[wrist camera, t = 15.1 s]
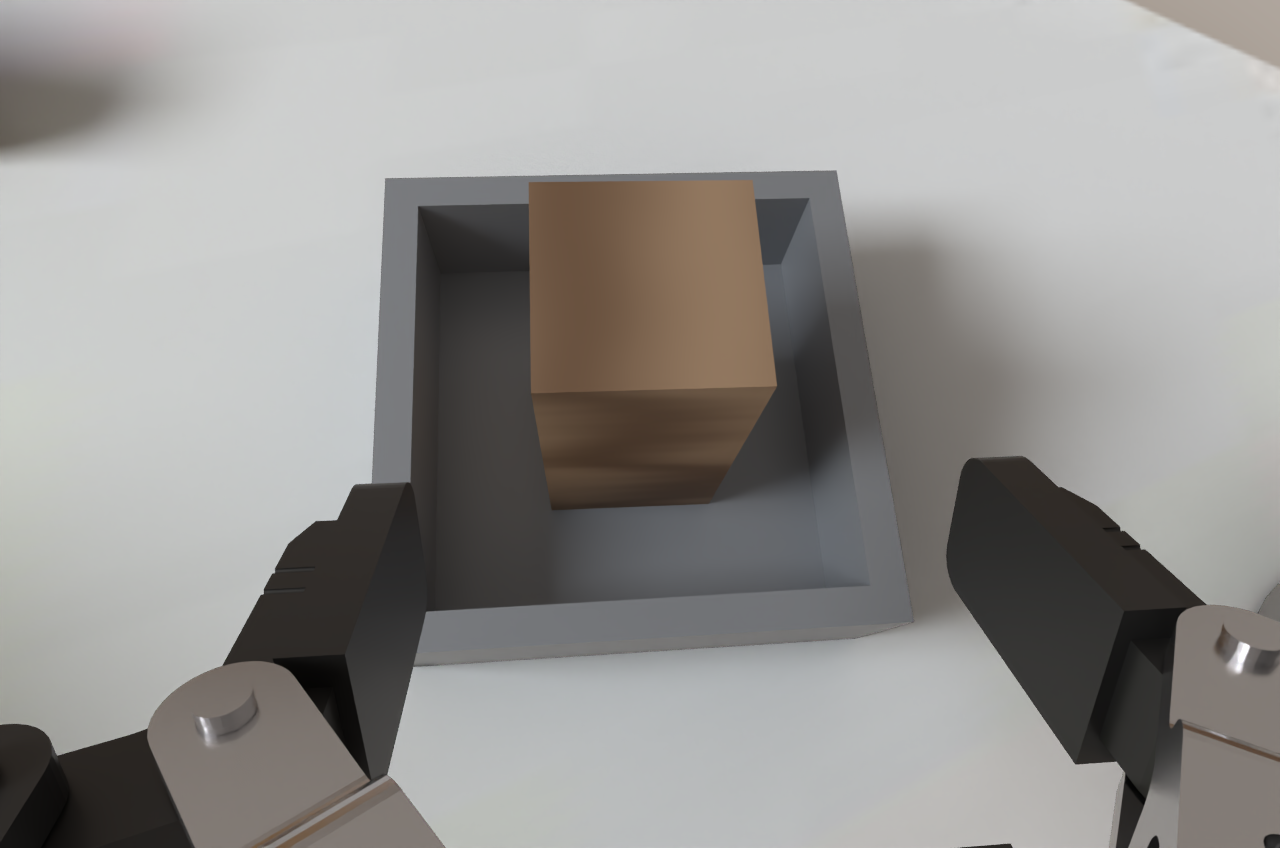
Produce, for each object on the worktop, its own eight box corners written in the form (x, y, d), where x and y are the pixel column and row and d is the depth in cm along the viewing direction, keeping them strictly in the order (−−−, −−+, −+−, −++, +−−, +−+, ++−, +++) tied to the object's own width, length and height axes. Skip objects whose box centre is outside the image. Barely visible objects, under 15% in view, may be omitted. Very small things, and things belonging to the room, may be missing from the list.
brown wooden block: (696, 360, 28) (752, 180, 18) (708, 504, 26) (776, 386, 17) (549, 364, 27) (528, 182, 18) (551, 510, 26) (530, 393, 16)
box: (797, 254, 31) (836, 170, 26) (854, 638, 26) (913, 621, 21) (417, 263, 29) (385, 178, 25) (406, 667, 25) (364, 656, 20)
